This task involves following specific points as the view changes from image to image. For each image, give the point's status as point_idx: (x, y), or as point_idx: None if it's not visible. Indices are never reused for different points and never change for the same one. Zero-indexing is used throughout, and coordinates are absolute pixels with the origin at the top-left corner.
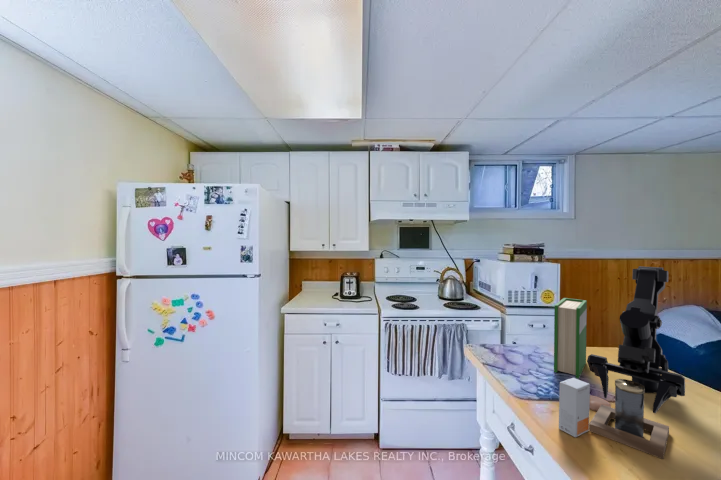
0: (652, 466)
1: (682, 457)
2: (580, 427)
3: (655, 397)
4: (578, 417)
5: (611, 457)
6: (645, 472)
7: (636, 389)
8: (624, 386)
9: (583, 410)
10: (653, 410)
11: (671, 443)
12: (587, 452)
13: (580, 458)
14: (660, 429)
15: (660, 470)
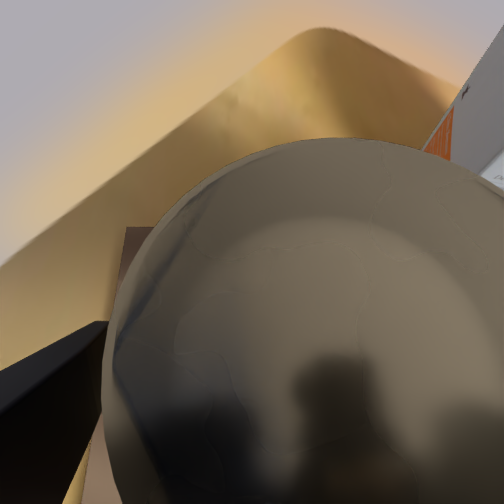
0: (173, 167)
1: (64, 326)
2: (434, 151)
3: (8, 403)
4: (465, 91)
5: (289, 124)
6: (192, 119)
7: (225, 169)
8: (389, 159)
9: (481, 104)
10: (105, 322)
11: (89, 447)
12: (354, 99)
13: (356, 59)
14: (120, 498)
15: (151, 162)
